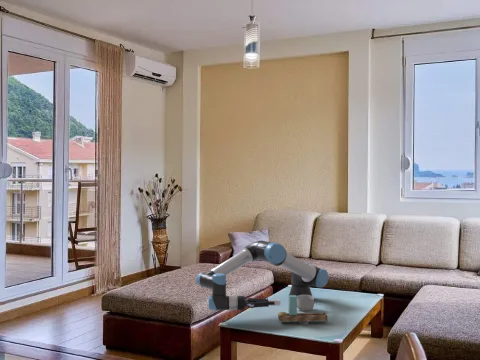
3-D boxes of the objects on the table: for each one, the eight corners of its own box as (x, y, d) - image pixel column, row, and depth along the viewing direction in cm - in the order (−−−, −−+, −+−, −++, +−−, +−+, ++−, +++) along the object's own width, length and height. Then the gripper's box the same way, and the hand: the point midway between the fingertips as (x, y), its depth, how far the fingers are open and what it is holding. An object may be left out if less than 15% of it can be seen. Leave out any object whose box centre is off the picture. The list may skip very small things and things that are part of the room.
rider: (289, 318, 285) (289, 296, 285) (288, 315, 289) (288, 295, 289) (296, 317, 285) (296, 296, 285) (295, 315, 289) (295, 295, 289)
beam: (279, 324, 284) (279, 314, 284) (277, 321, 291) (277, 311, 291) (327, 324, 285) (327, 314, 285) (324, 320, 292) (325, 310, 292)
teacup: (315, 308, 317) (316, 295, 317) (312, 313, 307) (312, 299, 307) (293, 306, 322) (293, 293, 322) (289, 311, 312) (289, 297, 311)
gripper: (236, 306, 292) (278, 306, 293) (237, 313, 279) (281, 312, 280) (236, 293, 292) (279, 292, 293) (237, 299, 279) (281, 298, 280)
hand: (280, 302), depth 286 cm, fingers closed
